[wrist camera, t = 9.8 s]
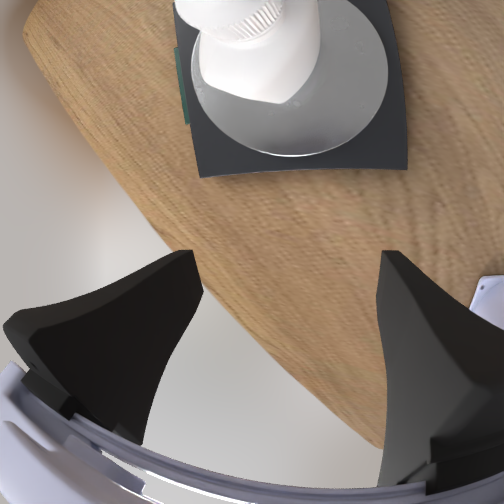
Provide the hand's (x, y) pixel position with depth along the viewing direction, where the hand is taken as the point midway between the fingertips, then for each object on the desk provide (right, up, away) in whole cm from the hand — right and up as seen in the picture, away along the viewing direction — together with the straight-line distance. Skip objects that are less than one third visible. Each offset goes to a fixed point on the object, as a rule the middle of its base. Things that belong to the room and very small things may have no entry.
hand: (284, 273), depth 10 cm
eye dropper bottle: (+1, +12, +3) cm, 12 cm away
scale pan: (+1, +12, +3) cm, 12 cm away
